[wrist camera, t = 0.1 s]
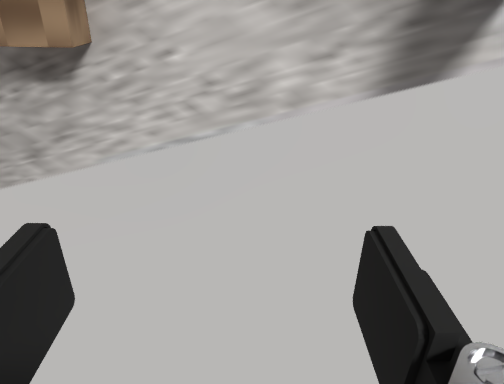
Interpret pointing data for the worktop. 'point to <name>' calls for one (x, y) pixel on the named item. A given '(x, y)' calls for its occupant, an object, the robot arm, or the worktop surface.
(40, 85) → the worktop surface
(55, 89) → the worktop surface
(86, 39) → the rail
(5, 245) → the robot arm
